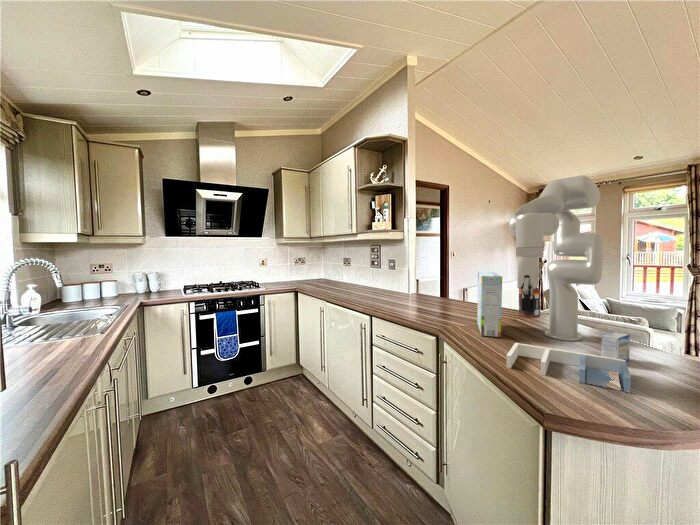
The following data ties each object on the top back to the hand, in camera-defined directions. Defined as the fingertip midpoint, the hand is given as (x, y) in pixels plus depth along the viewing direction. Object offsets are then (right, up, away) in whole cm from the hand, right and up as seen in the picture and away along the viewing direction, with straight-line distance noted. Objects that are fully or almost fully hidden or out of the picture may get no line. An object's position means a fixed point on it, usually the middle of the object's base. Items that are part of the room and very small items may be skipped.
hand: (529, 308), depth 96 cm
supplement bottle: (0, -3, 0) cm, 3 cm away
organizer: (+7, -18, -5) cm, 20 cm away
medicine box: (+29, -18, +1) cm, 34 cm away
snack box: (+5, -16, +39) cm, 43 cm away
